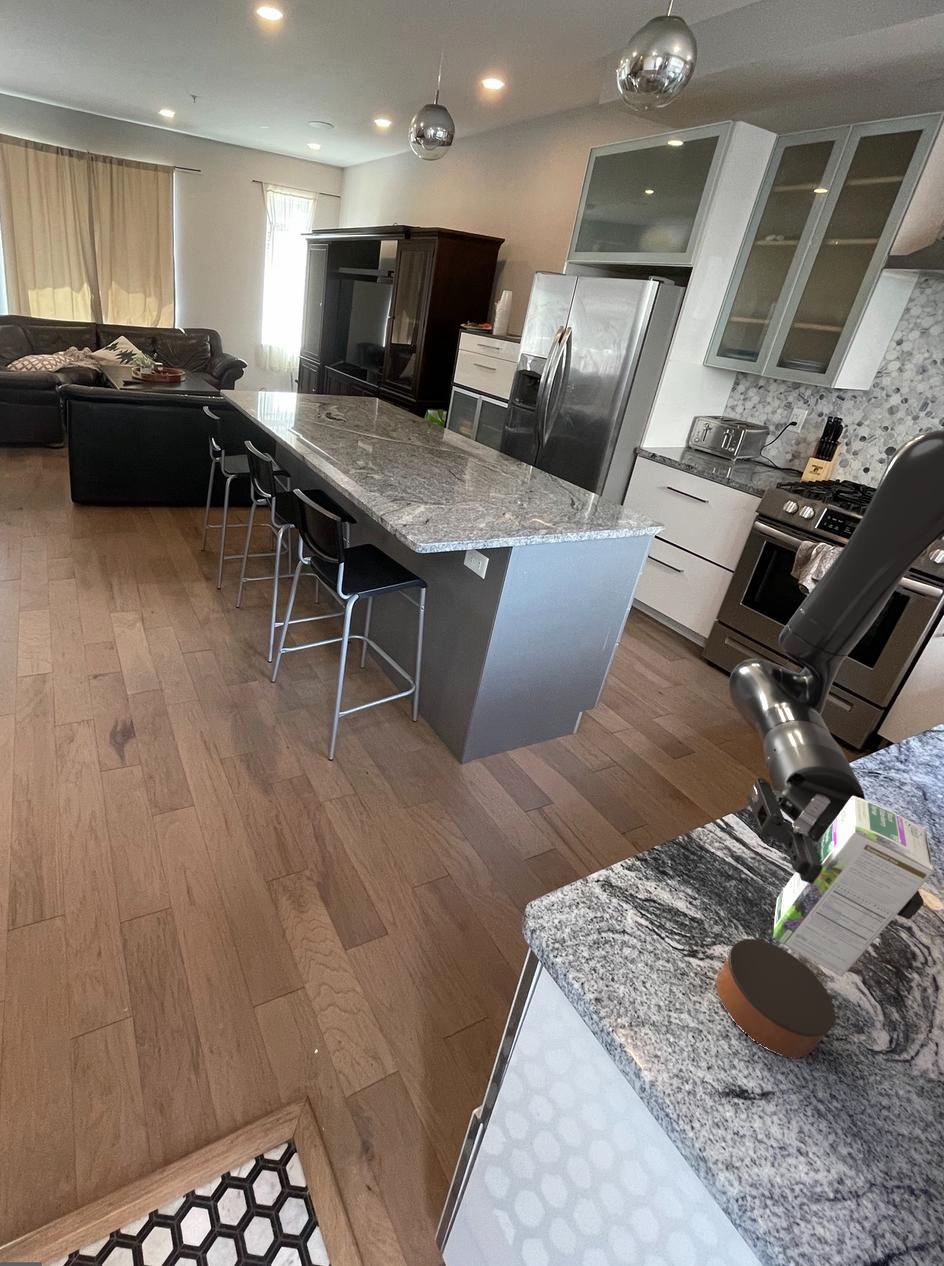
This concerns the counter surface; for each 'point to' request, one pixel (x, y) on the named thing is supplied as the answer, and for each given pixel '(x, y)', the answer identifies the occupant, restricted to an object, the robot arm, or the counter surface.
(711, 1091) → the counter surface
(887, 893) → the syrup box
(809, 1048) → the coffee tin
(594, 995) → the counter surface
